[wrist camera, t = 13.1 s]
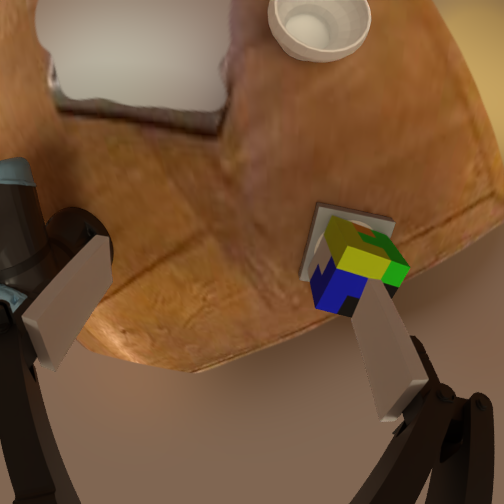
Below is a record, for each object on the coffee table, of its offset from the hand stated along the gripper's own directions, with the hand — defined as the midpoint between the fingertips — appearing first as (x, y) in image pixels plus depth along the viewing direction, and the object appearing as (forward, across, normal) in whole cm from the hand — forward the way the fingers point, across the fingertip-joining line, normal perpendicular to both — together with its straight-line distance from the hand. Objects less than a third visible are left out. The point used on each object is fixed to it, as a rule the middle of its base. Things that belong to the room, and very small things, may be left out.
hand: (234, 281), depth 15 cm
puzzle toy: (+31, +17, -12) cm, 37 cm away
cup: (+33, +4, +19) cm, 38 cm away
